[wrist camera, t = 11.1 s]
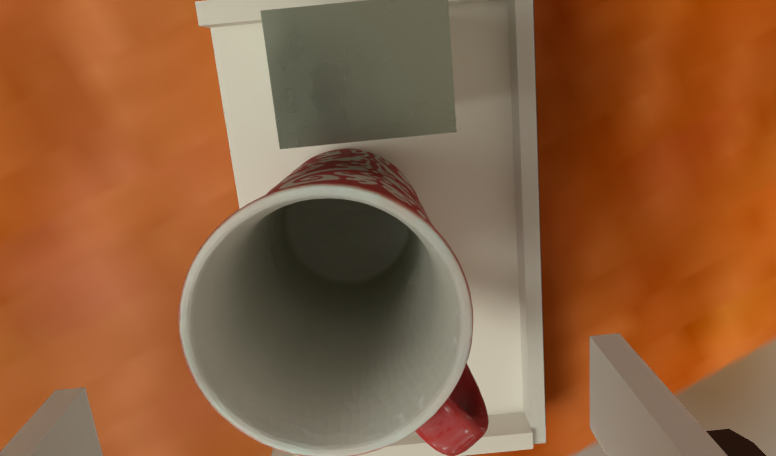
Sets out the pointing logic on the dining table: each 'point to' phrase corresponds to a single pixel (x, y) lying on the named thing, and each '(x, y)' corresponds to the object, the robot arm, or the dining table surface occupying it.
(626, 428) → the robot arm
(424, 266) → the mug
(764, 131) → the dining table surface
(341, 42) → the tea tin
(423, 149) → the shelf
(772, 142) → the dining table surface
